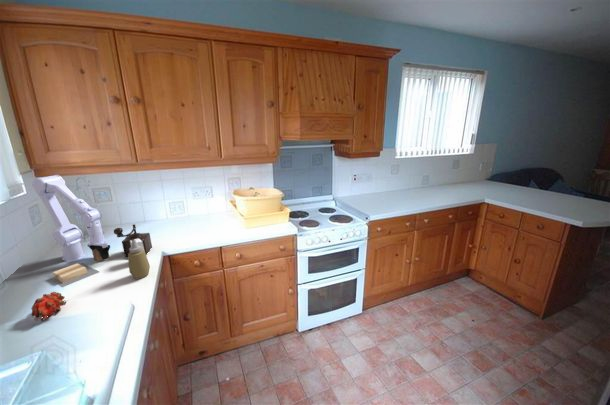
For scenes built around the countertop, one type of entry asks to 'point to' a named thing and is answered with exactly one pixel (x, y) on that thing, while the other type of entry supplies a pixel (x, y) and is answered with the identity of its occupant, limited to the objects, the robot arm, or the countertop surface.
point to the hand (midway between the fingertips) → (101, 257)
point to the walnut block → (98, 255)
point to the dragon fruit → (48, 305)
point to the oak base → (70, 273)
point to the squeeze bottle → (138, 261)
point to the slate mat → (89, 271)
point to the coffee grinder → (126, 242)
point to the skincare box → (138, 243)
